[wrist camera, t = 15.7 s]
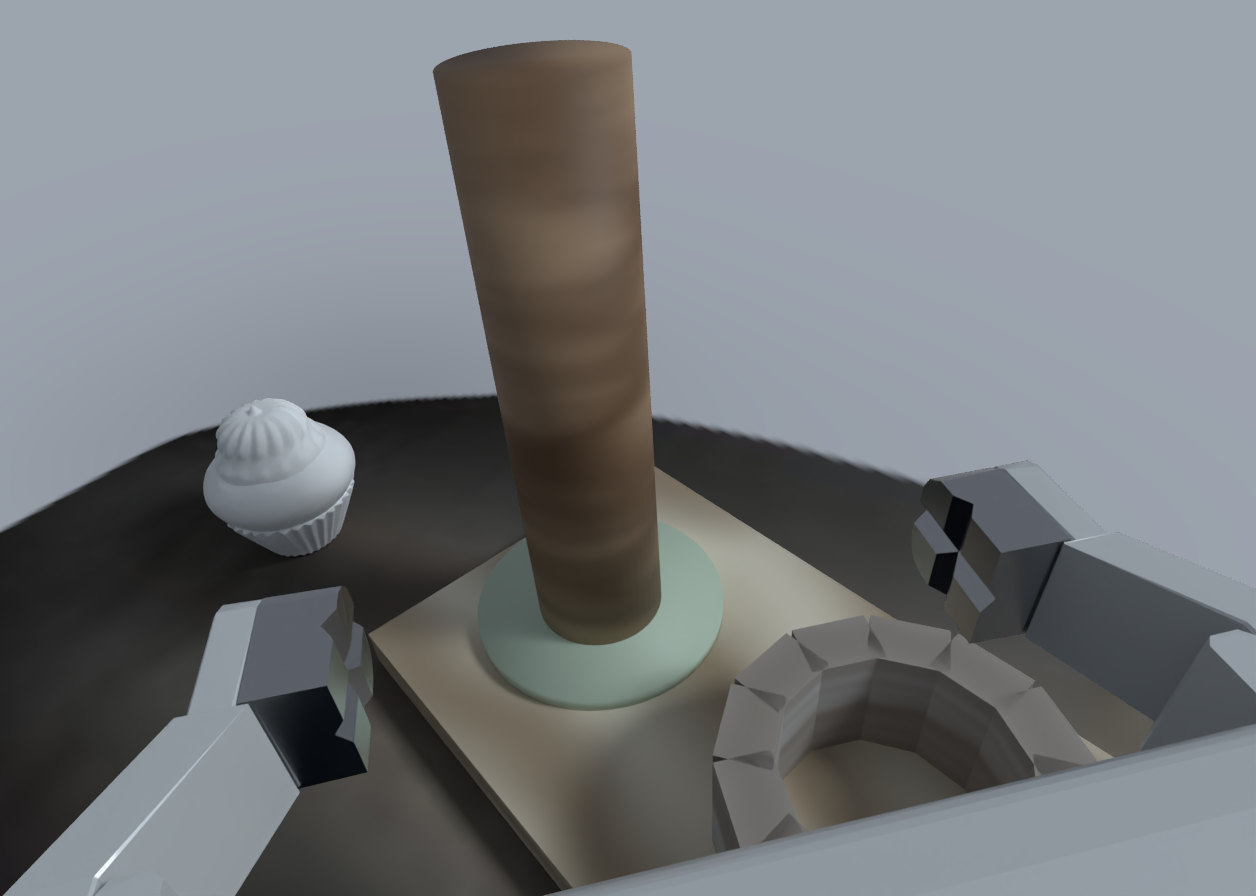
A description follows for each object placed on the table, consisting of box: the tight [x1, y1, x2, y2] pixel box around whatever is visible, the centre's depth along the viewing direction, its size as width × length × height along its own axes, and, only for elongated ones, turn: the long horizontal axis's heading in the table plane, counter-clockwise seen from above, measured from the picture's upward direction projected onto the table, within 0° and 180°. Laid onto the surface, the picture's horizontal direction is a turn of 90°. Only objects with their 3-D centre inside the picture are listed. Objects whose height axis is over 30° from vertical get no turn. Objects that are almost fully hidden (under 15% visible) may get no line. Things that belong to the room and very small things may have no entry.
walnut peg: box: [433, 40, 661, 645], centre depth 23 cm, size 4×4×18 cm
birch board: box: [368, 467, 1114, 891], centre depth 24 cm, size 14×22×6 cm, turn 42°
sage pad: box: [478, 521, 723, 711], centre depth 29 cm, size 9×9×1 cm
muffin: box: [203, 398, 355, 557], centre depth 33 cm, size 6×6×7 cm
